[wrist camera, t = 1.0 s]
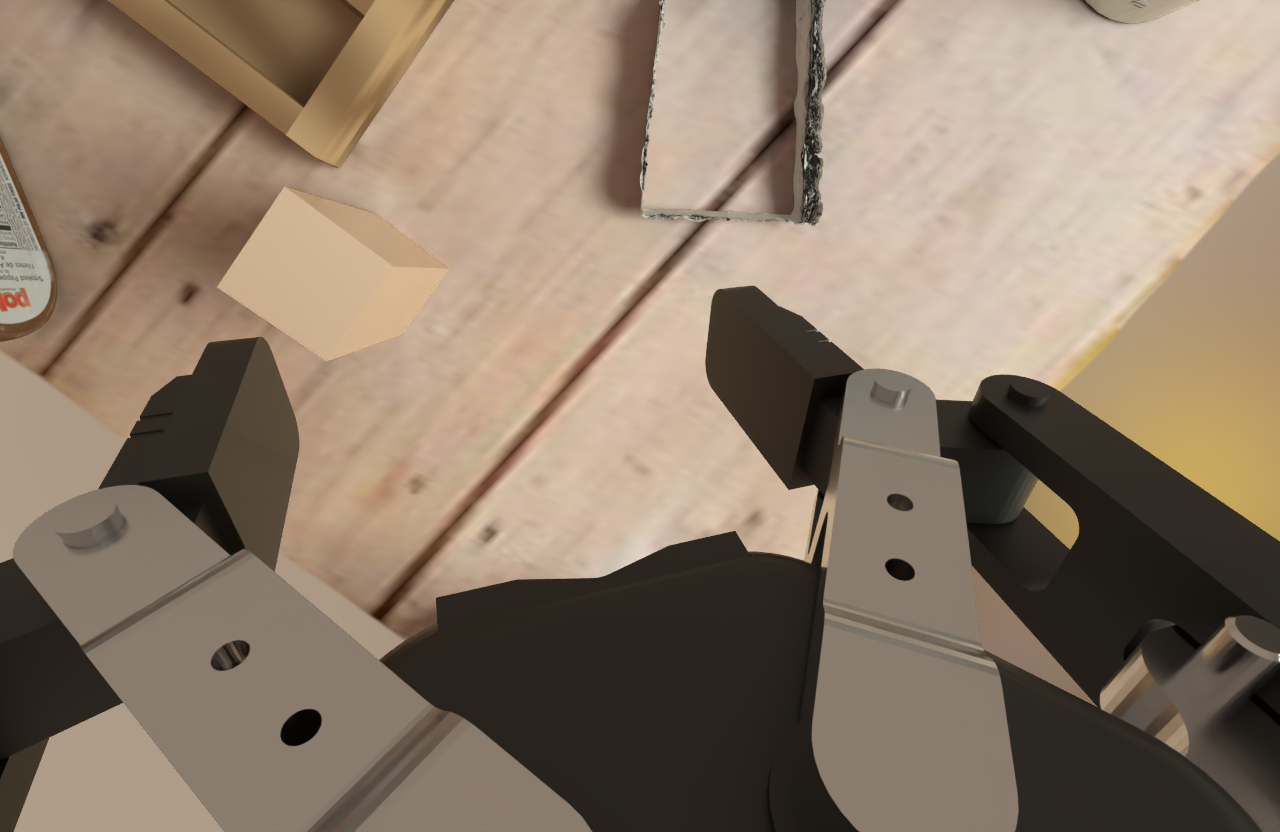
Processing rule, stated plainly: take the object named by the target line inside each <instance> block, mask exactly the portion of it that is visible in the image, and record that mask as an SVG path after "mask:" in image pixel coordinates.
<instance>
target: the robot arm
mask: <svg viewBox="0 0 1280 832" xmlns="http://www.w3.org/2000/svg"><path fill="white" fill-rule="evenodd" d="M1085 1H1086V2H1087V3H1088V4H1089V5H1090V6H1092V7H1093V8H1094V9H1095V10H1096V11H1097V12H1098V13H1100V14H1102V15H1104V16H1106V17H1107V18H1109V19H1111V20H1115V21H1119V22H1124V23H1143V22H1147V21H1150V20H1154V19H1157V18H1160V17H1162V16H1165V15H1167V14H1169V13H1171V12H1174V11H1176V10H1178V9H1181V8H1183V7H1185V6H1187V5H1190V4H1192V3H1194V2H1197V1H1199V0H1085ZM705 362H706V373H707V378H708V381H709V384H710V386H711V388H712V389H713V391H714V392H715V393H716V395H717V396H718V397H719V398H720V400H721V401H722V402H723V404H724V405H725V406H726V408H727V409H728V410H729V412H730V413H731V414H732V416H733V417H734V418H735V420H736V421H737V422H738V424H739V425H740V426H741V428H742V429H743V430H744V431H745V433H746V434H747V435H748V437H749V438H750V439H751V441H752V442H753V443H754V445H755V446H756V447H757V449H758V450H759V451H760V453H761V454H762V455H763V457H764V458H765V459H766V461H767V462H768V463H769V464H770V466H771V467H772V468H773V470H774V471H775V472H776V474H777V475H778V476H779V478H780V479H781V480H782V482H783V483H784V484H785V486H786V487H787V488H788V490H790V489H795V488H800V487H805V486H809V485H814V484H815V486H816V487H817V488H818V490H817V494H816V498H815V502H814V506H813V512H812V518H811V524H810V529H809V535H808V541H807V547H806V553H805V559H804V561H803V560H799V559H796V558H792V557H789V556H784V555H779V554H773V553H764V552H748V551H747V550H746V548H745V546H744V545H743V543H742V541H741V540H740V538H739V536H738V535H737V533H736V531H733V532H728V533H724V534H719V535H715V536H710V537H706V538H701V539H697V540H692V541H688V542H683V543H679V544H674V545H670V546H667V547H665V548H663V549H661V550H659V551H657V552H655V553H653V554H651V555H648V556H646V557H644V558H642V559H640V560H638V561H636V562H634V563H632V564H630V565H627V566H625V567H623V568H621V569H619V570H617V571H615V572H613V573H611V574H609V575H606V576H603V577H599V578H581V579H528V580H514V581H509V582H505V583H500V584H496V585H491V586H487V587H482V588H478V589H473V590H469V591H464V592H460V593H456V594H451V595H447V596H442V597H438V598H436V606H437V622H438V623H437V624H435V625H433V626H431V627H429V628H426V629H424V630H422V631H421V632H419V633H417V634H416V635H414V636H412V637H411V638H409V639H407V640H405V641H404V642H403V643H401V644H400V645H398V646H397V647H396V648H394V649H393V650H391V651H390V652H389V653H387V654H386V655H385V656H384V657H383V658H381V659H380V660H378V659H377V658H375V657H374V656H373V655H372V654H371V653H369V652H368V651H367V650H366V649H365V648H364V647H363V646H361V645H360V644H359V643H358V642H357V641H355V640H354V639H353V638H352V637H351V636H350V635H348V634H347V633H346V632H345V631H344V630H342V629H341V628H340V627H339V626H338V625H337V624H335V623H334V622H333V621H332V620H331V619H329V618H328V617H327V616H326V615H325V614H324V613H322V612H321V611H320V610H319V609H318V608H316V607H315V606H314V605H313V604H312V603H311V602H309V601H308V600H307V599H306V598H305V597H304V596H302V595H301V594H300V593H299V592H298V591H296V590H295V589H294V588H293V587H292V586H291V585H289V584H288V583H287V582H286V581H285V580H283V579H282V578H281V577H280V576H279V575H277V574H276V573H275V567H276V562H277V557H278V552H279V547H280V542H281V537H282V532H283V527H284V522H285V517H286V512H287V507H288V502H289V497H290V493H291V488H292V483H293V478H294V473H295V468H296V463H297V458H298V453H299V433H298V427H297V422H296V418H295V415H294V412H293V409H292V407H291V404H290V401H289V398H288V395H287V393H286V390H285V387H284V384H283V382H282V379H281V376H280V373H279V371H278V368H277V365H276V362H275V359H274V357H273V354H272V351H271V349H270V347H269V345H268V343H267V341H266V340H265V339H264V338H263V337H256V338H246V339H237V340H228V341H218V342H210V343H208V344H207V346H206V348H205V350H204V352H203V354H202V356H201V358H200V360H199V362H198V364H197V366H196V368H195V370H194V372H193V374H192V375H185V376H177V377H176V378H174V379H173V380H172V381H171V382H169V383H168V384H167V385H165V386H164V387H163V388H161V389H160V390H159V391H158V392H156V393H155V394H154V395H152V396H151V398H150V400H149V401H148V403H147V405H146V407H145V408H144V410H143V412H142V414H141V415H140V421H137V422H136V424H135V426H134V428H133V429H132V431H131V433H130V436H131V438H128V439H127V440H126V442H125V443H124V445H123V447H122V449H121V450H120V452H119V454H118V456H117V457H116V459H115V461H114V463H113V464H112V466H111V468H110V470H109V471H108V473H107V475H106V477H105V478H104V480H103V482H102V483H101V485H100V487H99V489H98V490H95V491H91V492H88V493H86V494H83V495H80V496H77V497H75V498H72V499H70V500H68V501H66V502H64V503H62V504H60V505H58V506H56V507H54V508H53V509H51V510H49V511H48V512H46V513H44V514H43V515H42V516H40V517H39V518H38V519H36V520H35V521H34V522H33V523H32V524H30V525H29V526H28V527H27V528H26V529H25V530H24V531H23V533H22V534H21V535H20V536H19V538H18V540H17V541H16V543H15V546H14V549H13V559H10V560H7V561H5V562H2V563H0V832H14V829H15V826H16V823H17V821H18V818H19V816H20V813H21V811H22V808H23V805H24V803H25V800H26V797H27V795H28V792H29V790H30V787H31V784H32V782H33V779H34V776H35V774H36V771H37V769H38V766H39V763H40V761H41V758H42V755H43V753H44V750H45V748H46V745H47V742H48V740H49V737H51V736H53V735H55V734H58V733H60V732H62V731H64V730H66V729H68V728H70V727H72V726H74V725H77V724H79V723H81V722H83V721H85V720H87V719H89V718H92V717H94V716H96V715H98V714H100V713H102V712H104V711H106V710H108V709H110V708H112V707H115V706H117V705H119V704H121V703H124V704H125V705H126V706H127V708H128V709H129V711H130V712H131V713H132V714H133V716H134V717H135V718H136V719H137V721H138V722H139V723H140V725H141V726H142V727H143V728H144V730H145V731H146V732H147V734H148V735H149V736H150V737H151V739H152V740H153V741H154V742H155V744H156V745H157V746H158V747H159V749H160V750H161V751H162V753H163V754H164V755H165V757H166V758H167V759H168V760H169V762H170V763H171V764H172V765H173V767H174V768H175V769H176V771H177V772H178V773H179V774H180V776H181V777H182V778H183V780H184V781H185V782H186V783H187V785H188V786H189V787H190V789H191V790H192V791H193V792H194V793H195V795H196V796H197V797H198V799H199V800H200V801H201V803H202V804H203V805H204V806H205V808H206V809H207V810H208V812H209V813H210V814H211V815H212V817H213V818H214V819H215V820H216V822H217V823H218V824H219V826H220V827H221V828H222V829H223V830H224V832H1280V541H1278V540H1277V539H1275V538H1274V537H1272V536H1271V535H1269V534H1268V533H1266V532H1265V531H1263V530H1262V529H1260V528H1259V527H1258V526H1256V525H1255V524H1253V523H1252V522H1250V521H1249V520H1247V519H1246V518H1244V517H1243V516H1242V515H1240V514H1239V513H1237V512H1236V511H1234V510H1233V509H1231V508H1230V507H1228V506H1227V505H1225V504H1224V503H1222V502H1221V501H1220V500H1218V499H1217V498H1215V497H1214V496H1212V495H1210V494H1209V493H1208V492H1206V491H1205V490H1203V489H1201V488H1200V487H1199V486H1197V485H1196V484H1194V483H1193V482H1192V481H1190V480H1189V479H1187V478H1186V477H1184V476H1183V475H1181V474H1180V473H1178V472H1177V471H1176V470H1174V469H1172V468H1171V467H1170V466H1168V465H1167V464H1165V463H1164V462H1162V461H1161V460H1159V459H1158V458H1156V457H1155V456H1153V455H1152V454H1150V453H1149V452H1148V451H1146V450H1145V449H1143V448H1142V447H1140V446H1139V445H1137V444H1136V443H1134V442H1133V441H1132V440H1130V439H1129V438H1127V437H1126V436H1124V435H1123V434H1121V433H1120V432H1118V431H1117V430H1115V429H1114V428H1112V427H1111V426H1109V425H1108V424H1107V423H1105V422H1104V421H1102V420H1101V419H1099V418H1098V417H1096V416H1095V415H1093V414H1091V413H1090V412H1089V411H1087V410H1086V409H1085V408H1083V407H1082V406H1080V405H1079V404H1077V403H1076V402H1074V401H1073V400H1071V399H1070V398H1068V397H1067V396H1066V395H1064V394H1063V393H1061V392H1060V391H1058V390H1056V389H1055V388H1053V387H1051V386H1049V385H1047V384H1044V383H1042V382H1039V381H1036V380H1033V379H1030V378H1026V377H1021V376H1015V375H994V376H990V377H987V378H985V379H984V380H982V382H981V383H980V386H979V388H978V390H977V393H976V395H975V398H974V400H973V401H952V400H936V399H935V395H934V393H933V392H932V391H931V389H930V388H929V387H928V386H926V385H925V384H924V383H922V382H921V381H919V380H917V379H916V378H914V377H911V376H909V375H906V374H903V373H900V372H897V371H892V370H886V369H865V370H864V369H863V368H862V367H861V366H859V365H858V364H857V363H856V362H855V361H854V360H852V359H851V358H850V357H849V356H848V355H846V354H845V353H844V352H843V351H842V350H841V349H839V348H838V347H837V346H836V345H835V344H834V343H832V342H829V339H828V338H827V337H825V336H824V335H823V334H822V333H821V332H817V329H816V328H815V327H814V326H812V325H811V324H810V323H809V322H808V321H807V320H805V319H804V318H803V317H802V316H800V315H797V314H795V313H793V312H791V311H789V310H786V309H784V308H782V307H779V306H778V305H776V304H775V303H774V302H773V301H772V300H771V299H770V298H768V297H767V296H766V295H765V294H764V293H763V292H762V291H760V290H759V289H758V288H757V287H755V286H745V287H736V288H726V289H718V290H717V291H716V292H715V294H714V296H713V299H712V304H711V314H710V323H709V332H708V341H707V350H706V361H705ZM1038 479H1039V480H1040V481H1042V482H1043V483H1044V484H1045V485H1046V486H1048V487H1049V488H1050V489H1051V490H1052V491H1053V492H1055V493H1056V494H1057V495H1058V496H1059V497H1060V498H1062V499H1063V500H1064V501H1065V502H1066V503H1067V504H1068V505H1069V506H1070V507H1071V508H1072V509H1073V510H1074V512H1075V514H1076V516H1077V518H1078V522H1079V535H1078V538H1077V540H1076V542H1075V543H1074V545H1073V546H1072V548H1071V549H1070V550H1069V549H1068V548H1067V547H1066V546H1065V545H1064V544H1063V543H1062V542H1061V541H1060V540H1059V539H1058V538H1056V537H1055V536H1054V535H1053V534H1052V533H1051V532H1050V531H1049V530H1048V529H1047V528H1046V527H1045V526H1044V525H1043V524H1041V523H1040V522H1039V521H1038V520H1037V519H1036V518H1035V517H1034V516H1033V515H1032V514H1031V513H1030V512H1028V511H1027V510H1026V509H1025V508H1024V505H1025V503H1026V502H1027V500H1028V498H1029V496H1030V494H1031V492H1032V491H1033V489H1034V487H1035V485H1036V483H1037V481H1038ZM972 566H973V567H974V568H975V569H976V570H977V572H978V573H980V575H981V576H982V577H983V578H984V579H985V581H986V582H987V583H988V584H989V585H990V586H991V587H992V588H993V590H994V591H995V592H996V593H997V594H998V595H999V596H1000V597H1001V599H1002V600H1003V601H1004V602H1005V603H1006V604H1007V605H1008V606H1009V608H1010V609H1011V610H1012V611H1013V612H1014V613H1015V614H1016V615H1017V617H1018V618H1019V619H1020V620H1021V621H1022V622H1023V623H1024V624H1025V626H1026V627H1027V628H1028V629H1029V630H1030V631H1031V632H1032V633H1033V635H1034V636H1035V637H1036V638H1037V639H1038V640H1039V641H1040V642H1041V644H1043V646H1044V647H1045V648H1046V649H1047V650H1048V651H1049V653H1050V654H1051V655H1052V656H1053V657H1054V658H1055V659H1056V661H1057V662H1058V663H1059V664H1060V665H1061V666H1062V667H1063V668H1064V669H1065V671H1066V672H1067V673H1068V674H1069V675H1070V676H1071V677H1072V678H1073V680H1074V681H1075V682H1076V683H1077V684H1078V685H1079V686H1080V687H1081V689H1082V690H1083V691H1084V692H1085V693H1086V694H1087V695H1088V697H1089V698H1090V699H1091V700H1092V701H1093V702H1094V703H1095V704H1096V706H1097V707H1096V706H1094V705H1092V704H1090V703H1088V702H1086V701H1084V700H1082V699H1080V698H1078V697H1076V696H1074V695H1072V694H1070V693H1068V692H1066V691H1064V690H1062V689H1060V688H1058V687H1056V686H1054V685H1052V684H1050V683H1048V682H1047V681H1045V680H1042V679H1041V678H1039V677H1036V676H1035V675H1033V674H1031V673H1029V672H1026V671H1025V670H1023V669H1021V668H1019V667H1017V666H1015V665H1013V664H1011V663H1009V662H1007V661H1005V660H1003V659H1001V658H999V657H997V656H995V655H993V654H991V653H989V652H987V651H985V650H983V648H982V644H981V638H980V630H979V622H978V614H977V607H976V599H975V590H974V582H973V573H972Z"/></svg>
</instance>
